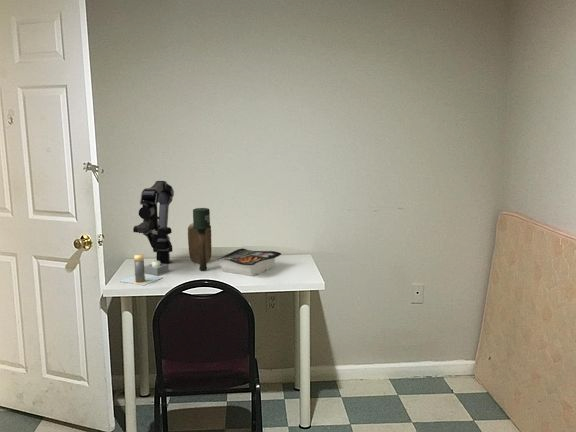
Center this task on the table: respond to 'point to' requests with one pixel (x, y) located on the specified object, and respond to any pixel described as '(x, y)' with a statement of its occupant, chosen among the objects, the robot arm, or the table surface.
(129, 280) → the worksheet
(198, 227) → the potato masher grenade
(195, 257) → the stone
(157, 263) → the button cap
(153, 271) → the button housing
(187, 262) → the table surface
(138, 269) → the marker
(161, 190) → the robot arm
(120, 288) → the table surface
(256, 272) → the food packaging
